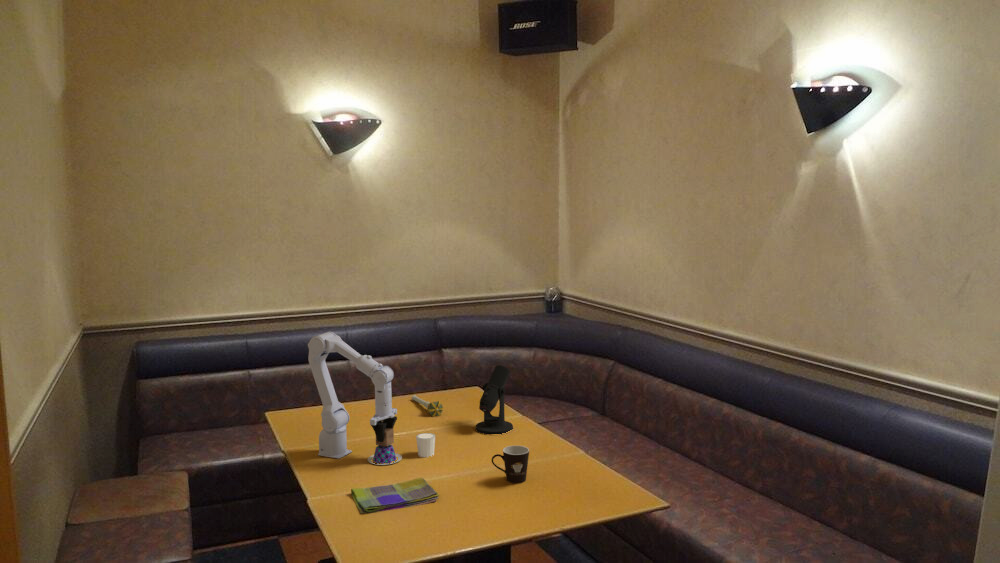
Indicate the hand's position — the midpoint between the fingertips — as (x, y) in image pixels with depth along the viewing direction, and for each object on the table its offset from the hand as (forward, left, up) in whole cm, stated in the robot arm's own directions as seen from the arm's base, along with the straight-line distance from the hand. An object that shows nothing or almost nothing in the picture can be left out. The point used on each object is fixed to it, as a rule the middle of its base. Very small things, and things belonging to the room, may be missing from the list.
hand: (384, 439), depth 255 cm
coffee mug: (+48, +1, -8) cm, 49 cm away
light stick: (-17, +60, -8) cm, 63 cm away
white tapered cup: (+11, +10, -8) cm, 17 cm away
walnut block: (0, 0, -2) cm, 2 cm away
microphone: (+22, +46, -8) cm, 52 cm away
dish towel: (+20, -26, -8) cm, 34 cm away
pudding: (0, 0, -8) cm, 8 cm away
